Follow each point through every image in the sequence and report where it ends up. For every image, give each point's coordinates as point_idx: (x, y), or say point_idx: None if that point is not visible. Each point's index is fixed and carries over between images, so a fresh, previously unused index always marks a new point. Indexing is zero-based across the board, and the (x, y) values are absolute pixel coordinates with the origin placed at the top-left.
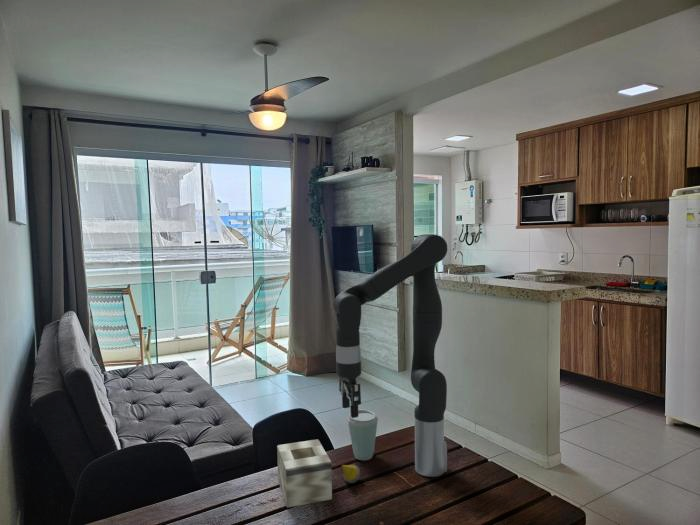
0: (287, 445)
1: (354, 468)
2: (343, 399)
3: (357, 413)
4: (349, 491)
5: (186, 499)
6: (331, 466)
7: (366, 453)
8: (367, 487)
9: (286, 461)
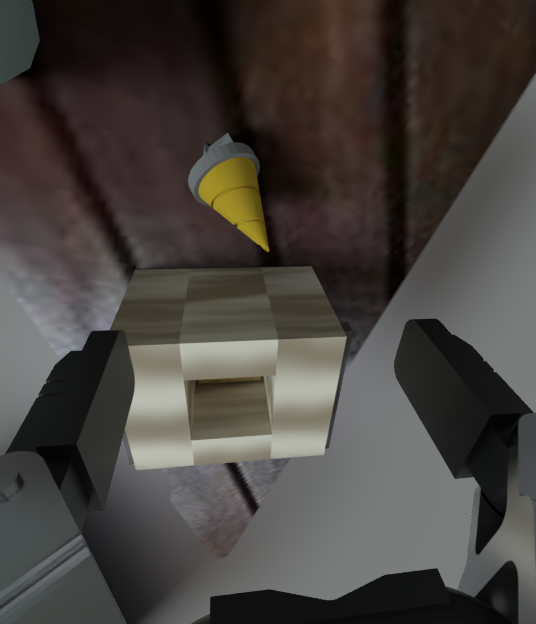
0: (146, 446)
1: (243, 176)
2: (113, 465)
3: (475, 354)
4: (291, 202)
5: (194, 509)
6: (349, 327)
7: (28, 16)
8: (292, 125)
9: (275, 452)
